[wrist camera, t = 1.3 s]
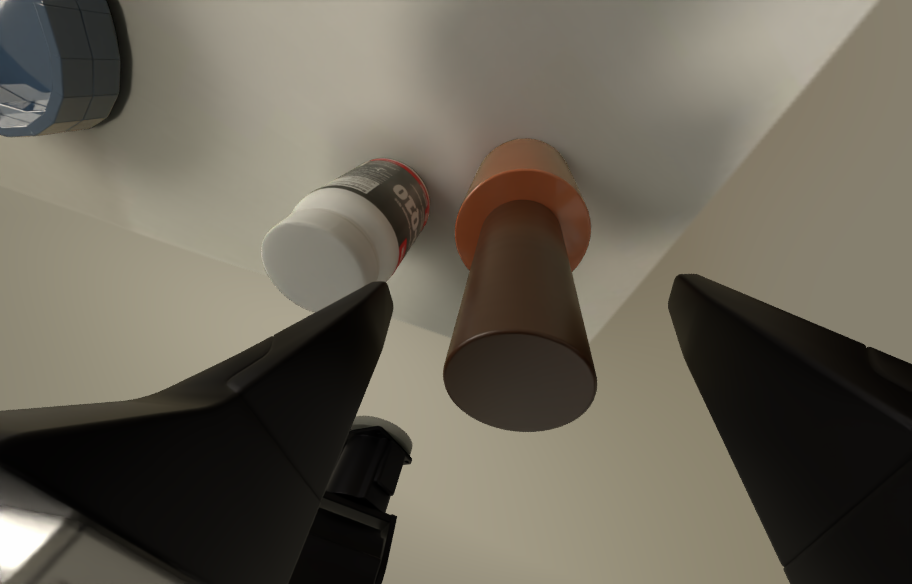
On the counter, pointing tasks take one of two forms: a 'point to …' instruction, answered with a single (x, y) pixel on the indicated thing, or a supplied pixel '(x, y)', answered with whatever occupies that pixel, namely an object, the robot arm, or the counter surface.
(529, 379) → the brown cylinder
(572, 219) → the orange cylinder cap
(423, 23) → the counter surface
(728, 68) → the counter surface
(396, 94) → the counter surface
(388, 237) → the pill bottle
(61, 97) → the bowl
